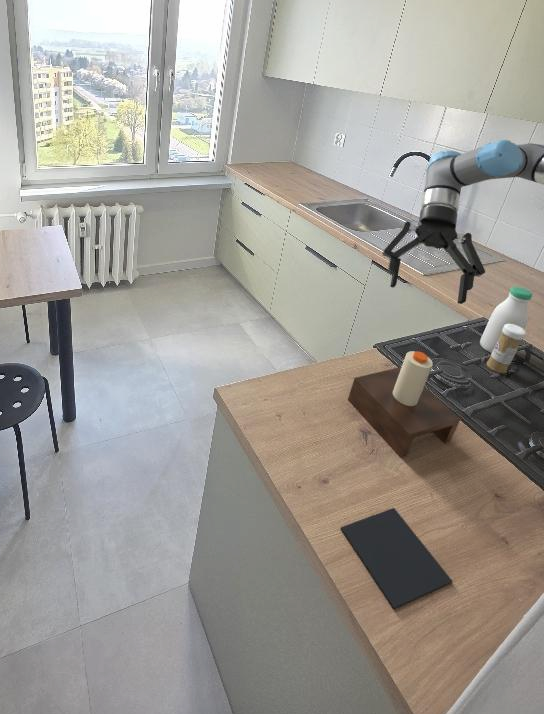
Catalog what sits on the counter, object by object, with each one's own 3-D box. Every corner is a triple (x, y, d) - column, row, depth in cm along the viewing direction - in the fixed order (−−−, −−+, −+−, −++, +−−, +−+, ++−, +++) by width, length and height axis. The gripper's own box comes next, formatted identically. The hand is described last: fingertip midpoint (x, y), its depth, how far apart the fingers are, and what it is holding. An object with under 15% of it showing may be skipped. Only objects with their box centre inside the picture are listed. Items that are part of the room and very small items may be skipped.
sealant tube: (422, 403, 92) (440, 361, 87) (405, 408, 91) (421, 365, 86) (404, 386, 96) (419, 345, 92) (387, 391, 95) (402, 349, 90)
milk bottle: (508, 361, 116) (538, 302, 108) (476, 347, 121) (501, 289, 113) (514, 349, 121) (542, 291, 113) (482, 336, 126) (507, 279, 118)
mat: (451, 583, 67) (452, 581, 67) (393, 609, 64) (394, 608, 63) (393, 509, 78) (394, 507, 77) (340, 528, 74) (340, 527, 74)
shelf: (450, 441, 92) (460, 418, 89) (400, 457, 87) (410, 434, 85) (392, 387, 105) (400, 366, 103) (347, 399, 101) (354, 377, 98)
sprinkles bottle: (482, 361, 116) (500, 321, 111) (500, 363, 116) (519, 324, 110) (492, 373, 112) (511, 332, 106) (510, 375, 111) (530, 335, 106)
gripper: (493, 228, 99) (485, 313, 93) (379, 207, 109) (364, 283, 102) (508, 215, 93) (500, 305, 86) (385, 194, 102) (369, 274, 96)
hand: (426, 294), depth 94 cm, fingers open, 13 cm apart
